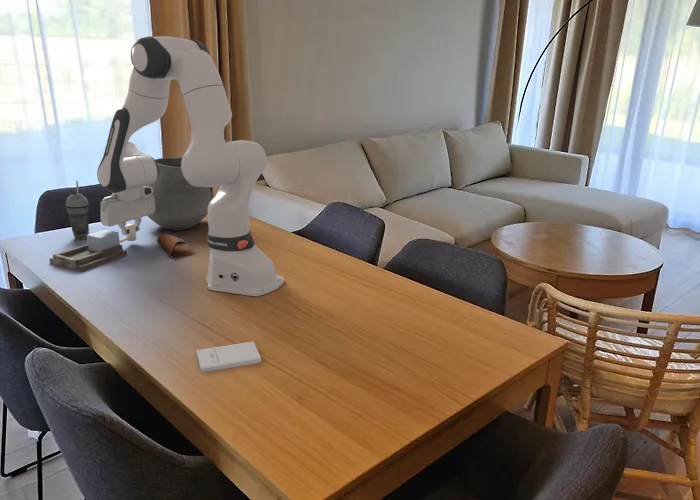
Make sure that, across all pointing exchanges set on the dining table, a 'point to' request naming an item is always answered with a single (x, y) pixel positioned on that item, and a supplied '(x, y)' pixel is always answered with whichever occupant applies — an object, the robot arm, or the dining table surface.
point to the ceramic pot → (177, 197)
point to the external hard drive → (228, 356)
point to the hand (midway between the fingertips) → (131, 232)
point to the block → (109, 238)
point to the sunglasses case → (175, 246)
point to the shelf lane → (86, 257)
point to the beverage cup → (78, 215)
